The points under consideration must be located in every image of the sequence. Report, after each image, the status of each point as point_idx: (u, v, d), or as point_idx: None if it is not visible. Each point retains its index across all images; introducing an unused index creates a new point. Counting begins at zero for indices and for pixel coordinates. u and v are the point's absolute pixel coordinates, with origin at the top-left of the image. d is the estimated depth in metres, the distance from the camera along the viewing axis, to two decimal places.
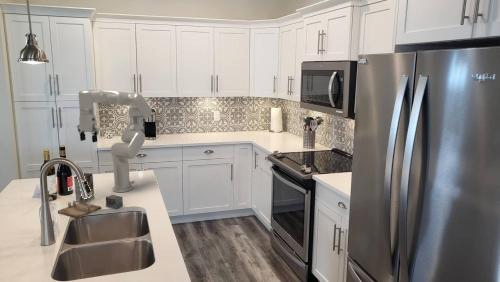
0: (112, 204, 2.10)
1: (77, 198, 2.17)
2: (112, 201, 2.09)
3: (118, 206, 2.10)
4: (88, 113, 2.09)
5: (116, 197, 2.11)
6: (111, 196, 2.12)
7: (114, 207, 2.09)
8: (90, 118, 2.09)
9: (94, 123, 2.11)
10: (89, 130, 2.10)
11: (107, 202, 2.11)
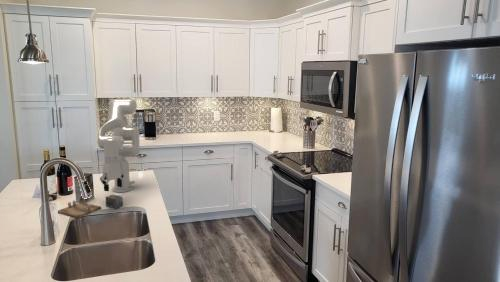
0: (112, 204, 2.10)
1: (77, 198, 2.17)
2: (112, 201, 2.09)
3: (118, 206, 2.10)
4: None
5: (116, 197, 2.11)
6: (111, 196, 2.12)
7: (114, 207, 2.09)
8: None
9: None
10: (120, 176, 2.11)
11: (107, 202, 2.11)
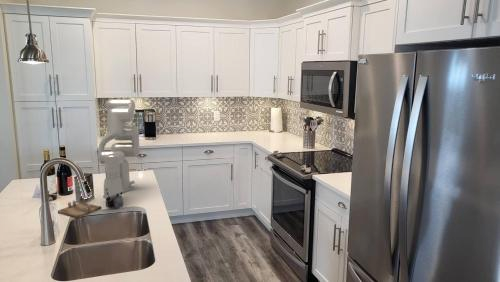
0: None
1: (77, 198, 2.17)
2: None
3: (118, 206, 2.10)
4: None
5: (116, 197, 2.11)
6: None
7: (114, 207, 2.09)
8: None
9: None
10: (121, 191, 2.13)
11: (107, 202, 2.11)
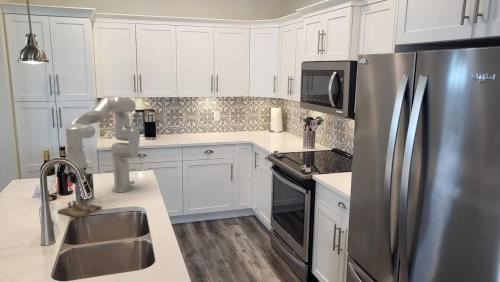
0: None
1: (77, 198, 2.17)
2: None
3: None
4: (82, 149, 2.01)
5: None
6: None
7: (77, 182, 1.99)
8: None
9: None
10: (84, 166, 2.03)
11: None
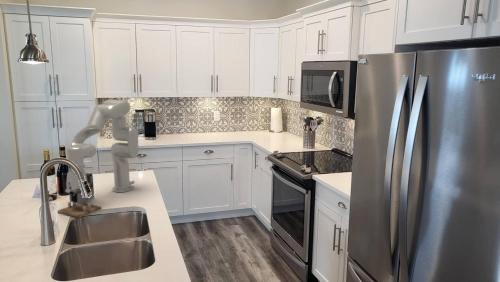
0: None
1: None
2: None
3: (82, 201, 2.02)
4: (83, 168, 2.03)
5: (80, 191, 2.02)
6: None
7: (78, 202, 2.01)
8: None
9: None
10: None
11: None
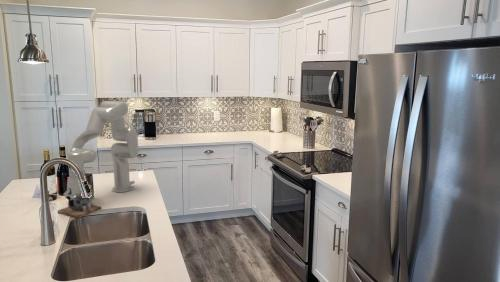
0: (76, 206, 2.02)
1: None
2: (76, 203, 2.02)
3: None
4: None
5: (81, 199, 2.03)
6: (76, 198, 2.05)
7: (79, 209, 2.02)
8: None
9: None
10: None
11: None
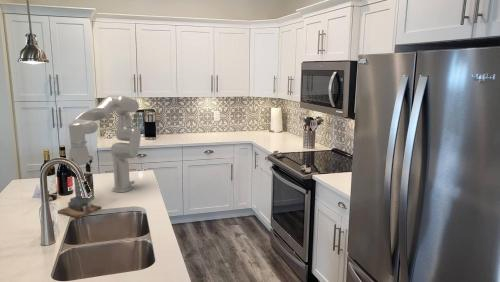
0: (76, 206, 2.02)
1: None
2: (76, 203, 2.02)
3: None
4: (85, 144, 2.04)
5: (81, 199, 2.03)
6: (76, 198, 2.05)
7: (79, 209, 2.02)
8: None
9: None
10: (87, 161, 2.06)
11: (72, 204, 2.04)
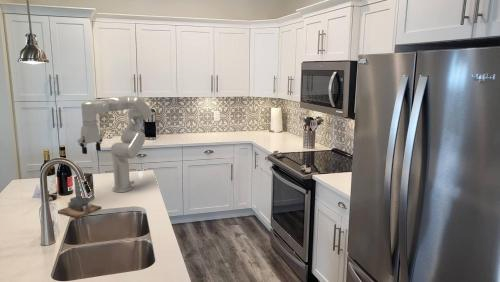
0: (76, 206, 2.02)
1: None
2: (76, 203, 2.02)
3: None
4: (96, 123, 2.14)
5: (81, 199, 2.03)
6: (76, 198, 2.05)
7: (79, 209, 2.02)
8: None
9: None
10: (98, 139, 2.16)
11: (72, 204, 2.04)
